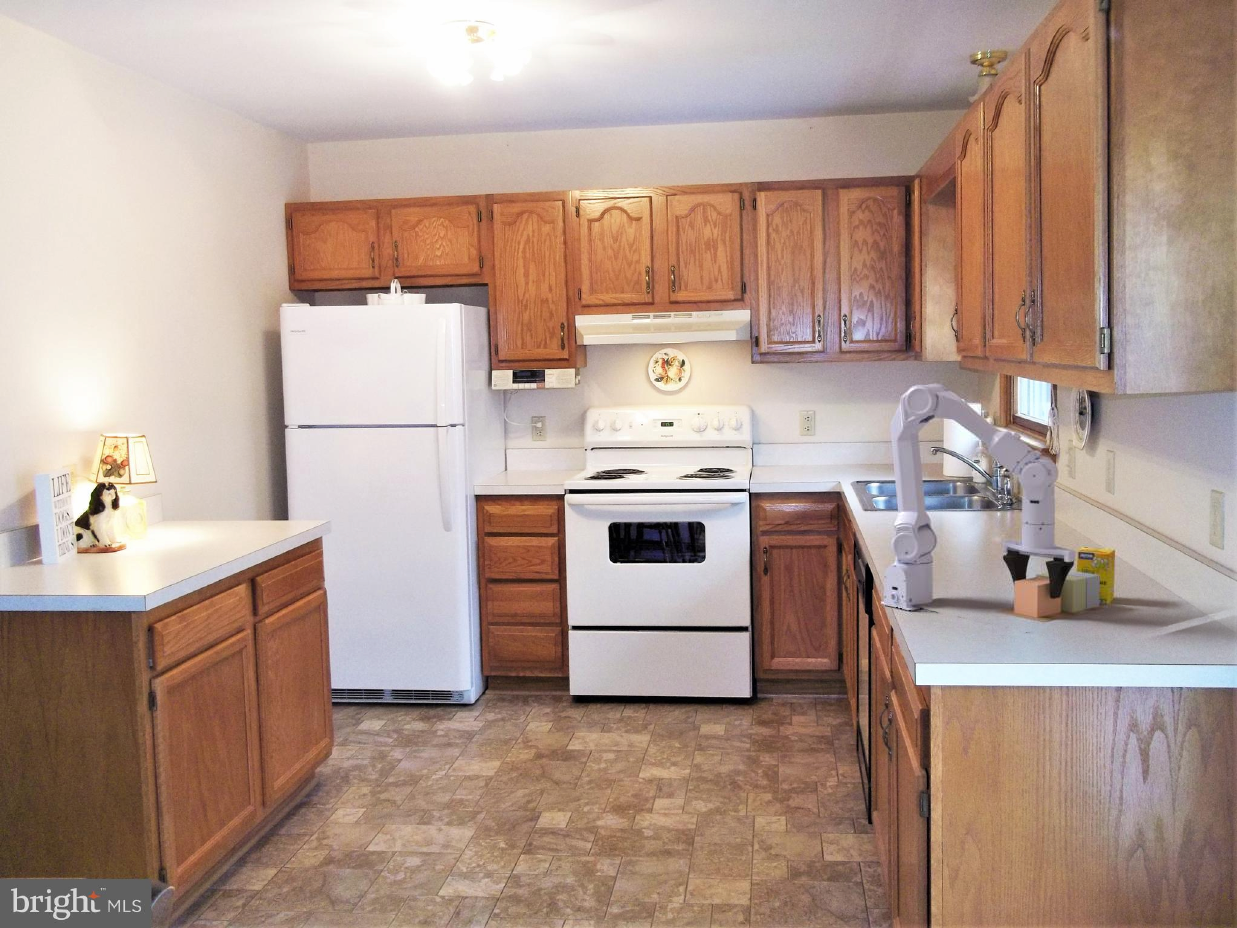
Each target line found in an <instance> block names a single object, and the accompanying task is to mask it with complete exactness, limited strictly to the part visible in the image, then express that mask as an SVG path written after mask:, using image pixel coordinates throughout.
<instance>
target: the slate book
mask: <svg viewBox="0 0 1237 928" xmlns="http://www.w3.org/2000/svg"><path fill="white" fill-rule="evenodd" d="M1068 575H1070V576H1076V577H1082V578H1086V609H1089V608H1094V607H1098V606H1099V605H1100V603H1099V596H1100V575H1095V574H1089V573H1083V572H1077V570H1076V571H1075V570H1072V569H1071V570H1070V572H1069V573H1068Z"/></svg>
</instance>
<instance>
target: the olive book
mask: <svg viewBox="0 0 1237 928" xmlns="http://www.w3.org/2000/svg"><path fill="white" fill-rule="evenodd" d="M1035 577H1043V578H1049V574H1048V571H1047V572H1043V573H1038V574H1035ZM1085 609H1086V578H1082V577H1076V576H1070V575H1067V577H1066V580H1065V582H1064V585H1063V588H1062V592H1061V610H1063V611H1068V612H1076V611H1081V610H1085Z"/></svg>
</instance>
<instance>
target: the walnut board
mask: <svg viewBox="0 0 1237 928" xmlns="http://www.w3.org/2000/svg"><path fill="white" fill-rule="evenodd" d="M1108 608H1109V606H1106V605H1101V604H1099V606H1098V607H1094V608H1089V609H1085V610H1081V611H1076V612H1068V611H1063V610H1061V612H1059V613H1055V614H1050V615H1046V616H1042V617H1032V616H1028V615H1023V614H1018V613H1014V606H1013V607H1009V608H1004V609H1003V608H1002V609H999V610H994V611H993V612H995V613H998V614H1002V615H1008V616H1012V617H1017V618H1022V619H1025V620H1031V621H1036V622H1041V623H1048V622H1052V621H1056V620H1061V619H1064V618H1069V617H1073V616H1076V615H1077V616H1078V615H1081V614H1085V613H1086V614H1087V613H1091V612H1095V611H1099V610H1103V609H1108Z"/></svg>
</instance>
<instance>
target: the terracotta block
mask: <svg viewBox="0 0 1237 928" xmlns="http://www.w3.org/2000/svg"><path fill="white" fill-rule="evenodd" d="M1013 586H1014V588H1013V589H1014V594H1013V595H1014V599H1013V600H1014V601H1013V602H1014V604H1013V607H1014V613H1018V614H1023V615H1028V616H1032V617H1042V616H1046V615H1050V614H1055V613H1059V612H1061V596H1060V598H1056V599H1051V598H1050V590H1049V578H1043V577H1036V576H1035V577H1029V578H1026V579H1024V580H1019V581H1015V583H1013Z"/></svg>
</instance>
